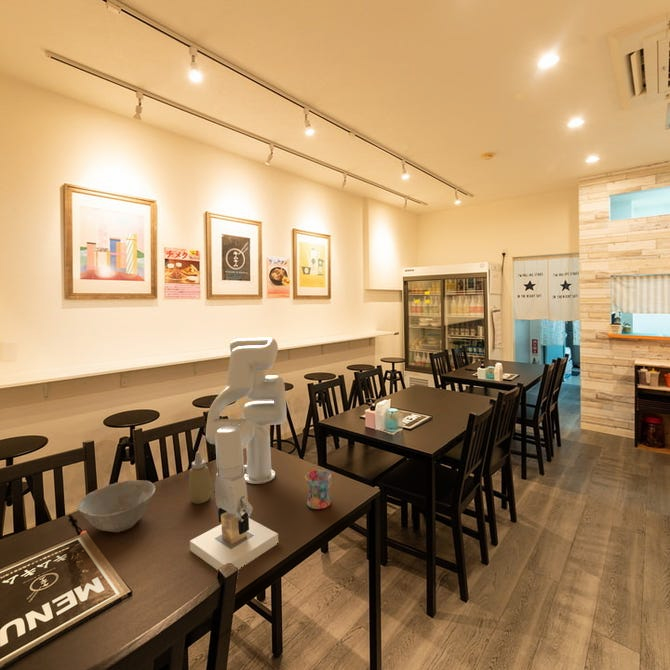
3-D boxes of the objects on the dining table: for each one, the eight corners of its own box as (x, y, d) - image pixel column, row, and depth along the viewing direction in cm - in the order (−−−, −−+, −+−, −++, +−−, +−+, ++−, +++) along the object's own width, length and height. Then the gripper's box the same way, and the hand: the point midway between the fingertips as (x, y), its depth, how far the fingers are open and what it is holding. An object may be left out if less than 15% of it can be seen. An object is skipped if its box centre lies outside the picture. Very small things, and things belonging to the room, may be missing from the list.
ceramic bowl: (80, 556, 113) (77, 523, 112) (80, 520, 132) (77, 491, 131) (163, 529, 125) (161, 499, 124) (151, 500, 144) (149, 474, 143)
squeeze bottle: (215, 494, 147) (213, 448, 145) (206, 506, 139) (203, 457, 137) (195, 494, 147) (192, 448, 146) (185, 505, 139) (181, 456, 138)
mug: (318, 514, 131) (317, 484, 130) (300, 505, 138) (299, 476, 137) (342, 501, 140) (342, 472, 139) (324, 492, 146) (323, 465, 145)
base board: (190, 550, 114) (189, 540, 114) (241, 522, 128) (240, 513, 127) (226, 577, 102) (226, 565, 102) (278, 543, 116) (278, 533, 116)
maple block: (222, 537, 115) (220, 514, 114) (236, 529, 118) (235, 507, 118) (232, 544, 111) (231, 520, 111) (246, 535, 115) (245, 513, 115)
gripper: (202, 466, 116) (205, 521, 117) (238, 482, 105) (241, 543, 106) (224, 458, 121) (227, 511, 123) (260, 472, 110) (262, 530, 112)
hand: (233, 526), depth 115 cm, fingers open, 9 cm apart
